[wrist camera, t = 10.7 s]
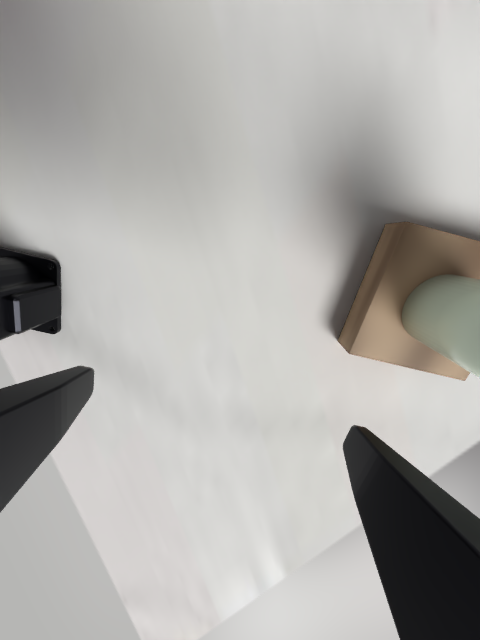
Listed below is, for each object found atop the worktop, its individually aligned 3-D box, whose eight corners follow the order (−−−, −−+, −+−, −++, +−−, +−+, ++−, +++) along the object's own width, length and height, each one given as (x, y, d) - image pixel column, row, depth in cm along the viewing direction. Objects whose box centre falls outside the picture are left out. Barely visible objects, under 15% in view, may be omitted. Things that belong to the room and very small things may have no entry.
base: (337, 341, 21) (349, 353, 19) (385, 223, 18) (406, 221, 16) (441, 365, 22) (464, 380, 19) (505, 256, 19) (543, 258, 16)
